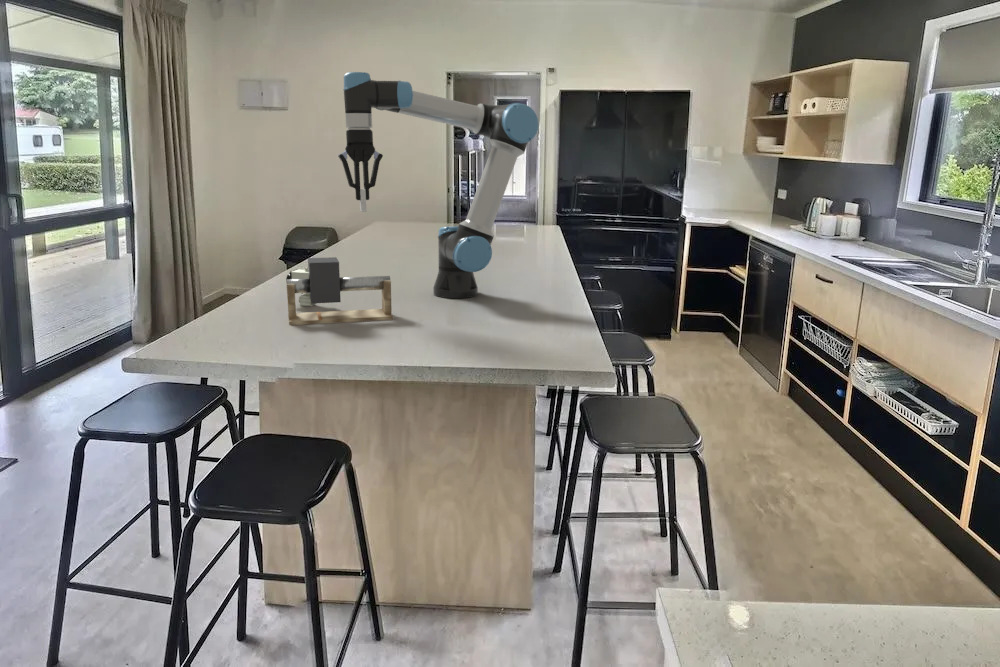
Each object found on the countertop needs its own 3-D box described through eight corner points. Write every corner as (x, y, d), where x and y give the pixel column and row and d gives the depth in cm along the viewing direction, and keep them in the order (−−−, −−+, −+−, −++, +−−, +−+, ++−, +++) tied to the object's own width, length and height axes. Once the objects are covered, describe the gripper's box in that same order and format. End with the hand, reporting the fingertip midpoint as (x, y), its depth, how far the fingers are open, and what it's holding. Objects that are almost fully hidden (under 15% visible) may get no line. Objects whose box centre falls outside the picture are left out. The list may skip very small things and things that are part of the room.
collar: (337, 296, 210) (336, 257, 207) (340, 302, 203) (339, 262, 200) (309, 297, 208) (307, 258, 205) (311, 303, 200) (309, 262, 197)
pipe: (388, 287, 212) (388, 274, 211) (390, 290, 208) (390, 277, 207) (287, 291, 204) (286, 278, 202) (287, 294, 200) (286, 280, 199)
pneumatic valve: (322, 308, 219) (320, 269, 216) (287, 306, 222) (285, 267, 219) (330, 304, 225) (328, 266, 222) (295, 302, 227) (293, 264, 224)
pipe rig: (387, 311, 217) (386, 276, 214) (393, 319, 208) (392, 282, 205) (288, 316, 208) (286, 279, 206) (289, 325, 199) (287, 286, 196)
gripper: (379, 129, 212) (382, 209, 218) (334, 129, 208) (339, 210, 214) (383, 129, 205) (387, 211, 211) (337, 128, 201) (342, 213, 207)
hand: (363, 211), depth 213 cm, fingers closed
